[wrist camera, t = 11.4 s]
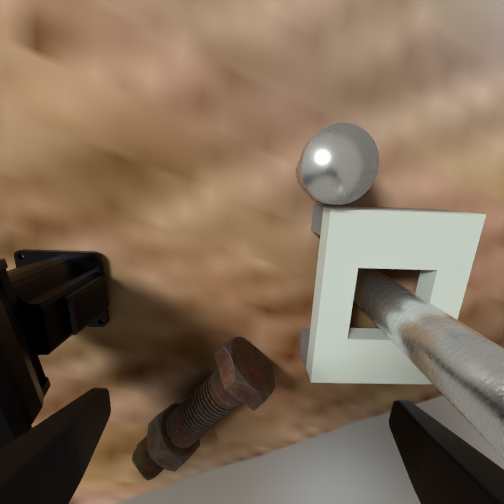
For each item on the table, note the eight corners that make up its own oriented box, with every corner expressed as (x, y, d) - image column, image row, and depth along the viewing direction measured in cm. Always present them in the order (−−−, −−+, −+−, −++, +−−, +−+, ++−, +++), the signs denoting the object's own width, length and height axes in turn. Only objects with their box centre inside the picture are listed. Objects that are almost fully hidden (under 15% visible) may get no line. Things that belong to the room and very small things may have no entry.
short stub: (286, 200, 19) (298, 203, 14) (290, 138, 18) (305, 121, 13) (341, 202, 19) (372, 206, 14) (349, 141, 18) (385, 124, 13)
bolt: (154, 419, 27) (247, 330, 23) (179, 465, 25) (283, 376, 22) (104, 456, 21) (217, 347, 18) (132, 517, 20) (261, 409, 16)
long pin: (328, 294, 21) (530, 556, 6) (356, 250, 20) (676, 430, 5) (370, 315, 22) (649, 600, 7) (399, 273, 21) (801, 495, 6)
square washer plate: (299, 349, 22) (310, 382, 18) (313, 205, 19) (330, 209, 15) (406, 350, 23) (439, 384, 19) (438, 209, 19) (486, 214, 16)
